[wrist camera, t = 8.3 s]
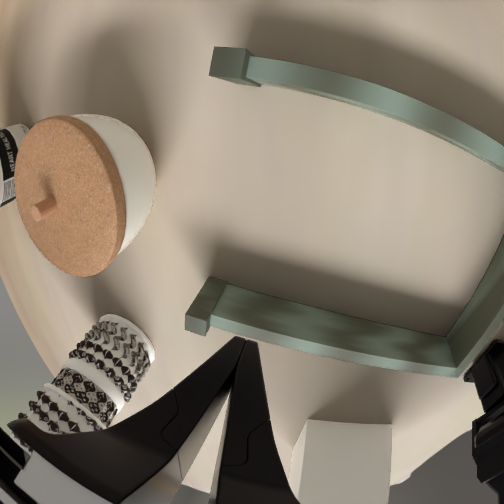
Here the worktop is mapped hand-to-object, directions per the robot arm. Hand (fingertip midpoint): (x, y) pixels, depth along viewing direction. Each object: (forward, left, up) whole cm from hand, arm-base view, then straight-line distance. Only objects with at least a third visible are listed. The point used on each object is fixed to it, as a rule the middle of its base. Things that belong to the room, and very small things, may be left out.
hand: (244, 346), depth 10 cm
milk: (-16, +30, -12) cm, 36 cm away
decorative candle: (+15, +20, -12) cm, 28 cm away
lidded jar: (+14, -1, -12) cm, 18 cm away
